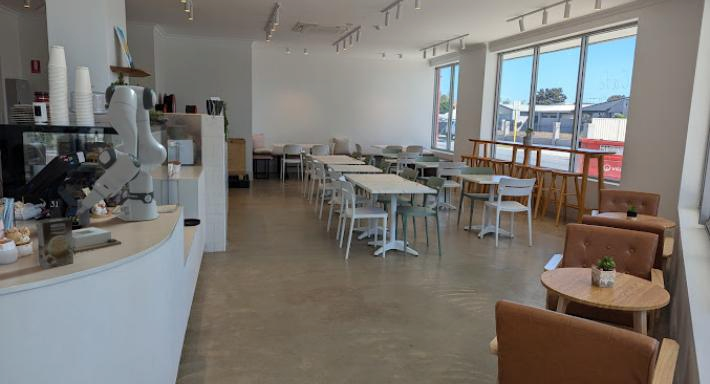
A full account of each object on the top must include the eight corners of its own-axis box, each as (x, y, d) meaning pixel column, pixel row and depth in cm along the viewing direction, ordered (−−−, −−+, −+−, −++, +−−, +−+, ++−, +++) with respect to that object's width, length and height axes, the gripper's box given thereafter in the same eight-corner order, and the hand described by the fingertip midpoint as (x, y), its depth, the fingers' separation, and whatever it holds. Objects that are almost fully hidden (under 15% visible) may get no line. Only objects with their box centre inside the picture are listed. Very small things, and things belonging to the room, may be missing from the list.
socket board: (49, 244, 198) (49, 239, 197) (93, 236, 212) (93, 231, 212) (76, 253, 185) (76, 248, 185) (121, 244, 200) (121, 239, 200)
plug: (77, 224, 197) (75, 199, 196) (87, 222, 200) (85, 198, 199) (82, 225, 195) (80, 201, 193) (92, 223, 198) (90, 199, 197)
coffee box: (45, 268, 166) (42, 223, 164) (39, 265, 170) (35, 220, 168) (74, 263, 173) (71, 219, 171) (67, 259, 177) (64, 216, 175)
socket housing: (59, 242, 197) (58, 232, 196) (93, 236, 208) (93, 227, 208) (76, 247, 189) (75, 237, 188) (111, 241, 201) (110, 231, 200)
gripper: (106, 178, 207) (82, 201, 206) (94, 184, 187) (68, 210, 186) (118, 188, 209) (94, 211, 207) (107, 195, 189) (81, 221, 188)
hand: (81, 211), depth 197 cm, fingers closed on plug, 4 cm apart
